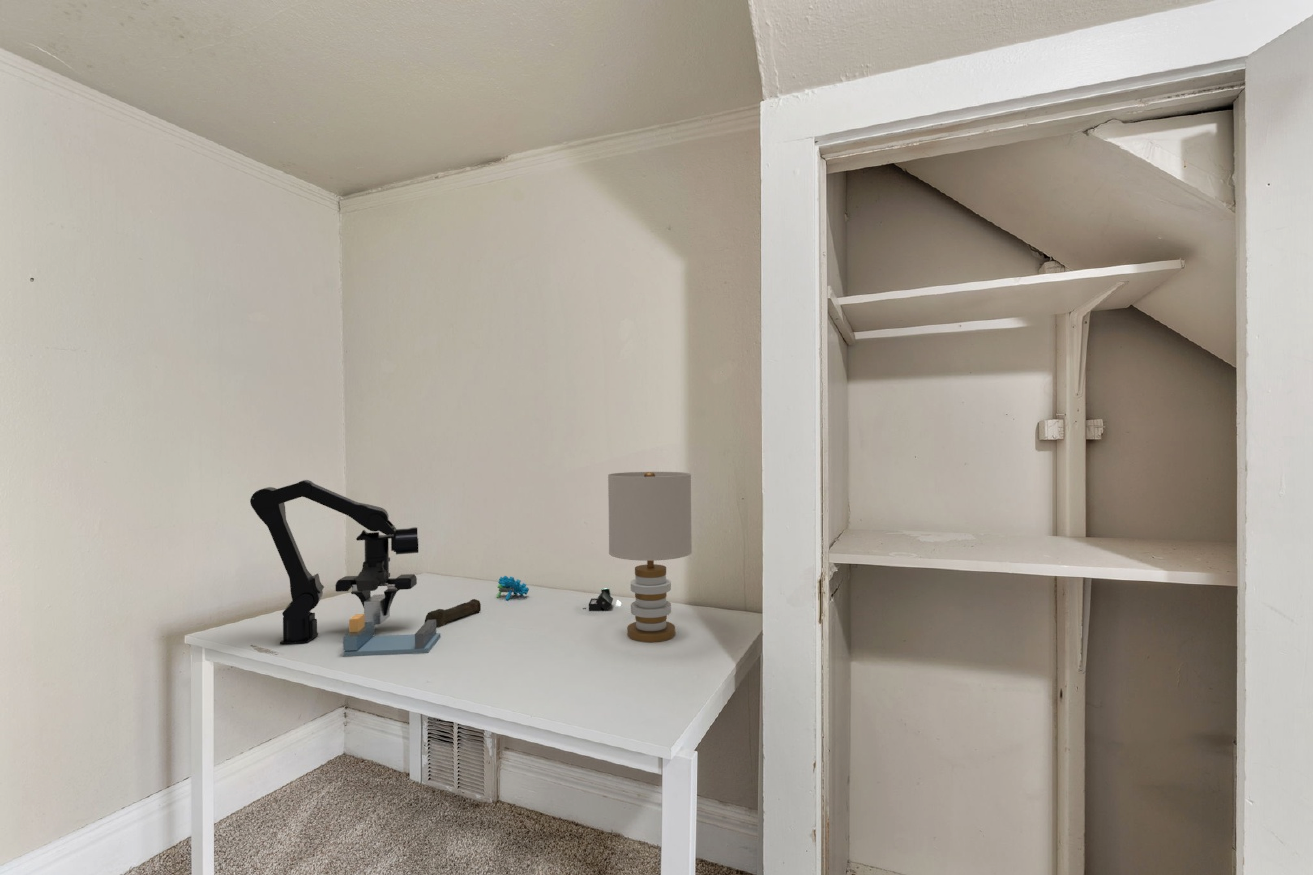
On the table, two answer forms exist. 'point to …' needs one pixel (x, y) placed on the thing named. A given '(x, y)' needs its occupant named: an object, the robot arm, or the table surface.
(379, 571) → the robot arm
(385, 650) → the vise
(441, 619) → the brown wooden stick
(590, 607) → the black angled gadget
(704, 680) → the table surface
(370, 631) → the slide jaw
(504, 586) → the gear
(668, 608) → the lamp
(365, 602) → the steel block
